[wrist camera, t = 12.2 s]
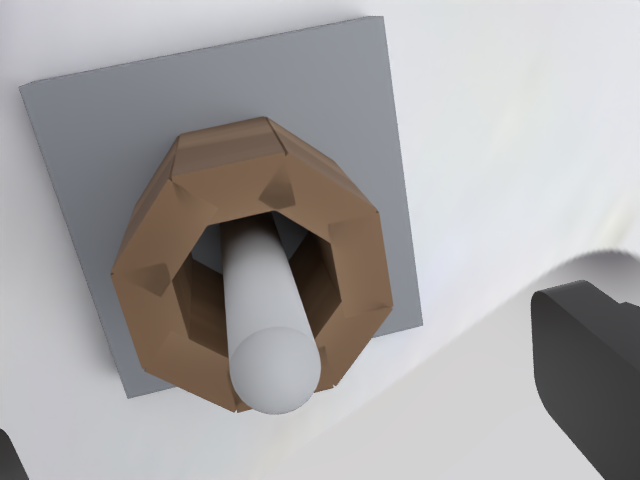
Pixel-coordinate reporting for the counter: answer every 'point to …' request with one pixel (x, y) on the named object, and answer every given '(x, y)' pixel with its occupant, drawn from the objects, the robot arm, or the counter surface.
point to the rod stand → (243, 233)
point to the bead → (207, 284)
